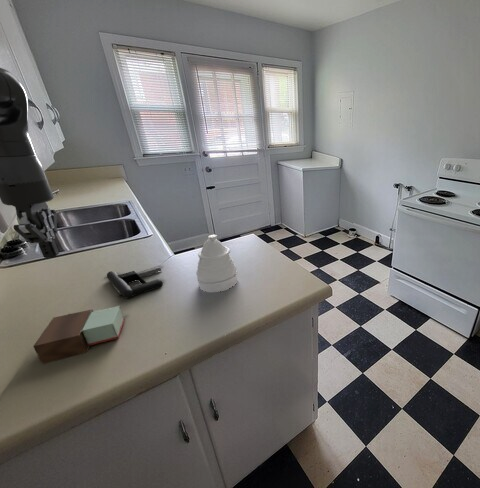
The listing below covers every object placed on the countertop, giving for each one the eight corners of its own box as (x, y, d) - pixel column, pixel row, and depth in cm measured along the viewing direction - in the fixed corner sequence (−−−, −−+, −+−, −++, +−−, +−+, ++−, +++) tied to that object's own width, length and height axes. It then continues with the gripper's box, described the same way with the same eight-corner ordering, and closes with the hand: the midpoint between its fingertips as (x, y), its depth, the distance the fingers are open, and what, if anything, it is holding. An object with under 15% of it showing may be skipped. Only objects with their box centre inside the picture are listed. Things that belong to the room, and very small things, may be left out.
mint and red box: (113, 323, 66) (118, 338, 68) (119, 305, 73) (124, 319, 75) (81, 331, 64) (87, 346, 65) (91, 311, 70) (97, 325, 72)
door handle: (152, 259, 105) (101, 273, 93) (174, 276, 93) (119, 294, 81) (154, 267, 106) (103, 281, 94) (176, 285, 94) (121, 303, 83)
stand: (42, 363, 61) (32, 346, 59) (61, 333, 70) (53, 317, 68) (86, 352, 64) (78, 335, 62) (98, 324, 74) (92, 309, 72)
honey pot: (244, 283, 93) (237, 235, 86) (205, 297, 86) (195, 245, 79) (230, 270, 103) (223, 225, 96) (194, 280, 95) (184, 233, 88)
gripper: (13, 175, 58) (43, 248, 65) (-28, 185, 47) (13, 272, 54) (57, 173, 61) (82, 243, 68) (29, 183, 50) (62, 265, 57)
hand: (52, 256), depth 61 cm, fingers closed
